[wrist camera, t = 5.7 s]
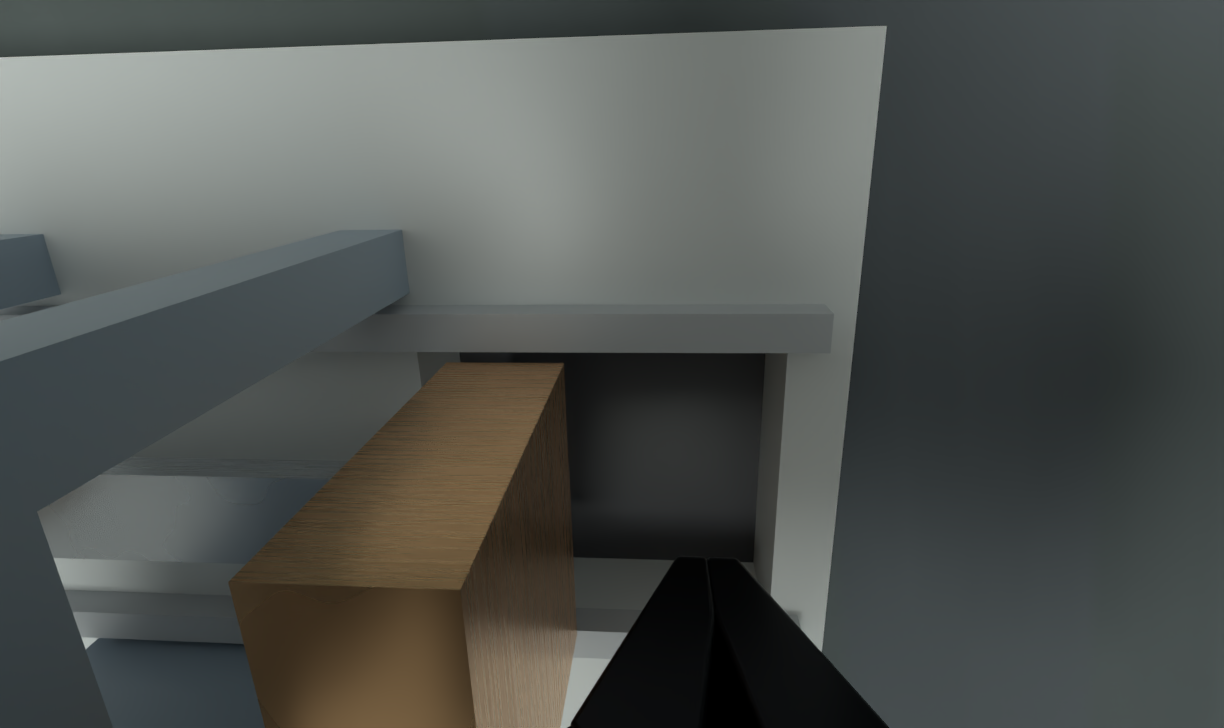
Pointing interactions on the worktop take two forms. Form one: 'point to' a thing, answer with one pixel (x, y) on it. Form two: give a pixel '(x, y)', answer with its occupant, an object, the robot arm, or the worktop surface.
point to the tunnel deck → (423, 310)
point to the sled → (379, 557)
